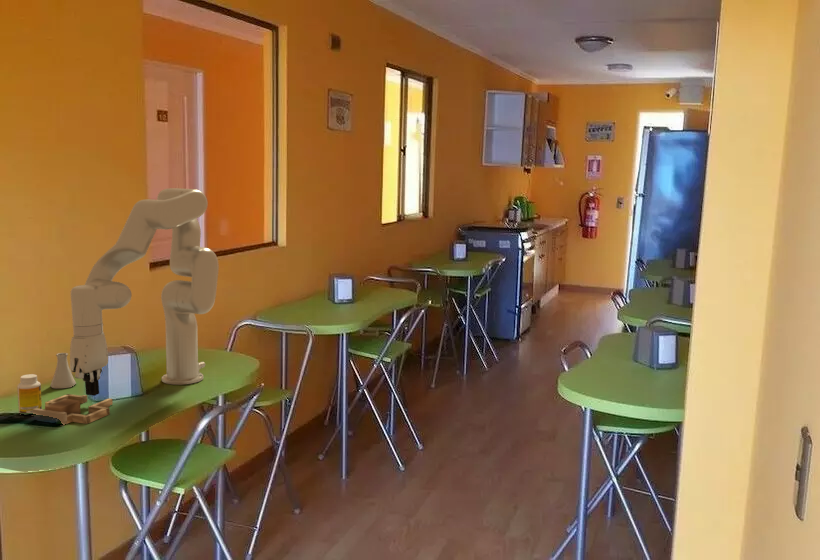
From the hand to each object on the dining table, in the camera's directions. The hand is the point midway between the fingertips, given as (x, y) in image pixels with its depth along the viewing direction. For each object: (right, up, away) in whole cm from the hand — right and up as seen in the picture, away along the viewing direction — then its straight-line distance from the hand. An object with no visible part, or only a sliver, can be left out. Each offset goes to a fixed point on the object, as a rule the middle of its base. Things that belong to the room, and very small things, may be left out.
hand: (92, 394), depth 205 cm
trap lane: (-2, -4, -6) cm, 8 cm away
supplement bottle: (-14, -4, -7) cm, 16 cm away
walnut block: (-3, -5, -10) cm, 12 cm away
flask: (-17, -1, +19) cm, 25 cm away
